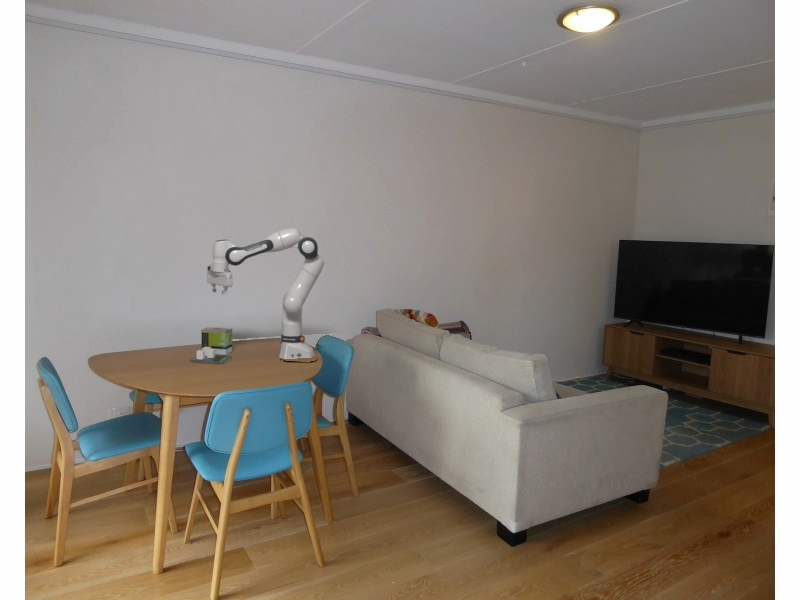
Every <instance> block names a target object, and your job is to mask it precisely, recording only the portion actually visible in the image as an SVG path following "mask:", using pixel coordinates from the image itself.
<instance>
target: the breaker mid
mask: <svg viewBox="0 0 800 600" xmlns="http://www.w3.org/2000/svg"><path fill="white" fill-rule="evenodd" d="M215 355H216V354H215V349H208V350H207V358H214V357H215Z"/></svg>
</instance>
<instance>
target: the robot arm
mask: <svg viewBox="0 0 800 600" xmlns="http://www.w3.org/2000/svg"><path fill="white" fill-rule="evenodd" d="M290 248H296V249H297V250H298V252H299V254H301V255H302V256H303V258H304V262H303V264H302V266H301V268H300V269H299V271H298V273H297V274H296V276H295V278H294V280H293V282H292V284H291V286H290V287H289V289H288V290H287V292H286V293H285V294H284V295H283V297H282V317H281V318H282V320H281V322H282V323H281V325H282V326H281V335H280V352H279V356H278V358H279V357H280V358H283V359H297V358H312V357H313V356H315V350H314V348H313V347H312V346H311V345H310V344H308V343H307V342H306V341H305V340H306V339H305V337H306V336H305V335H303V334H302V329H303V327H302V325H303V321H302V320H303V314H302V313H303V305H304V304H305V302H306V300H307V298H308V296H309V294H310V293H311V291H312V289H313V287H314V286H315V283H316V282H317V280H318V278H319V276H320V275H321V273H322V271H323V268H324V265H325V260H324V258H322V257H321V256H320V255H319V249H318V248H319V246H318V242H317V240H316V239H314V238H313V237H311V236H303V235H302V234H301V231H300V230H299V229H298V228H296V227H290V228H284V229H280V230H277V231H274V232H272V233H270V234H269V235H267V236H266V237H264V238H263V239H262V240H259V241H258V242H255V243H252V244H249V245H246V246H238V245H236V244H234V243H232V242H231V241H230V240H229V239H220V240H219V239H218V240H216V241H214V243H213V247H212V264H211V265H210V264H209V265H208V266H206V270H207V271H206V283H208V284H210V286H211V289H212V290H211V292H213V293H216V292H217V287H216V286H221V287H222V289H223V290H222V291H221V294H222V295H226V294H227V291H228V290H229V288H232V287H233V285H234V283H233V282H234V281H233V279H234V278H233V273H232V271H231V270H230V269H229V268H230V267H229V266H240V265H241V264H243V262H245V261H246V260H247V259H249V258H252V257H255V256H258V255H261V254H265V253H276V252H281V251H285V250H287V249H290Z"/></svg>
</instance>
